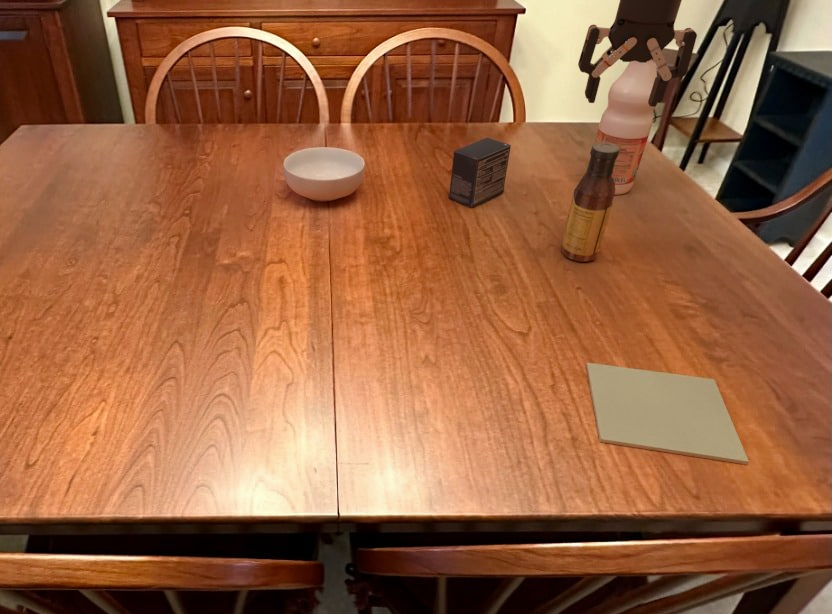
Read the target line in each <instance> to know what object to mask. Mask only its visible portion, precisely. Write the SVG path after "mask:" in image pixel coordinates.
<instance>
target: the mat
mask: <svg viewBox="0 0 832 614" xmlns="http://www.w3.org/2000/svg"><path fill="white" fill-rule="evenodd" d="M585 368H586V374H587V379H588V385H589V390H590V396H591V402H592V405H593V406H592V407H593V414H594V419H595V423H596V429H597V435H598V441H599V443H603V444H611V445H617V446H621V447H622V446H623V447H629V448H636V449H642V450H649V451H655V452H662V453H668V454H674V455H682V456H688V457H695V458H700V459H707V460H708V459H709V460H712V461H713V460H714V461H720V462H728V463H734V464H740V465H749V462H750V460H749V458H748V455H747V453H746V451H745V449H744V446H743V444H742V441H741V439H740V436H739V434H738V432H737V430H736V427H735V425H734V422H733V420H732V418H731V415H730V412H729V411H728V408H727V406H726V403H725V401H724V399H723V396H722V394H721V391H720V388H719V387H718V383H717V382H716V379H715V378H710V377H702V376H694V375H686V374H679V373H671V372H665V371H664V372H662V371H655V370H648V369H642V368H641V369H640V368H632V367H624V366H617V365H609V364H602V363H595V362H594V363H593V362H586V364H585Z"/></svg>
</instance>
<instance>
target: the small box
mask: <svg viewBox="0 0 832 614" xmlns="http://www.w3.org/2000/svg"><path fill="white" fill-rule="evenodd" d="M511 147H512V145H511V144H509V143H506V142H502V141H499V140H496V139H493V138H491V137H485V138H482V139H479V140H477V141H475V142H473V143H470V144H468V145H465V146H462V147H460V148H457V149H455V150H453V158H452V166H451V175H450V185H449V186H450V187H449V194H448V199H449V200H451V201H454V202H456V203H458V204H460V205H463V206H465V207H468V208H470V209H473V208H475V207H477V206H479V205H481V204H483V203H485V202H488V201H489V200H491V199H493V198H496V197H498V196H500V195H502V194H504V190H505V183H506V177H507V171H508V166H509V165H508V164H509V160H510V159H509V158H510V152H511Z"/></svg>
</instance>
